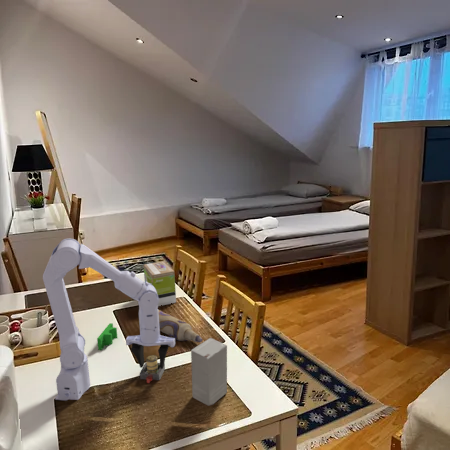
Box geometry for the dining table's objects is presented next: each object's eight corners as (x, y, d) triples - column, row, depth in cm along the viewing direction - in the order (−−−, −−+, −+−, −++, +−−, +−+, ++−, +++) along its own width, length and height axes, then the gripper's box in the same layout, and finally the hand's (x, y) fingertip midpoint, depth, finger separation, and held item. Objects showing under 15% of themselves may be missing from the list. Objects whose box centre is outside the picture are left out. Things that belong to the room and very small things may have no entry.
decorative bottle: (146, 329, 157) (144, 312, 156) (162, 322, 163) (161, 306, 161) (192, 353, 140) (192, 335, 138) (208, 344, 145) (208, 327, 144)
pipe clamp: (108, 351, 143) (107, 338, 141) (98, 350, 143) (97, 338, 142) (120, 334, 153) (119, 323, 152) (110, 334, 154) (109, 323, 153)
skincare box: (210, 385, 123) (209, 335, 119) (229, 394, 118) (228, 343, 114) (190, 399, 116) (188, 348, 112) (210, 410, 112) (208, 357, 108)
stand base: (164, 386, 122) (164, 378, 122) (131, 384, 123) (130, 376, 123) (172, 367, 132) (172, 359, 131) (142, 365, 133) (141, 358, 132)
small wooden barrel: (156, 377, 126) (155, 361, 124) (145, 376, 126) (144, 361, 125) (159, 370, 129) (158, 355, 128) (149, 370, 129) (148, 355, 128)
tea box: (144, 295, 189) (142, 263, 185) (166, 291, 193) (164, 260, 189) (154, 307, 175) (151, 274, 172) (176, 303, 179) (175, 270, 176)
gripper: (176, 319, 127) (178, 360, 130) (130, 318, 128) (133, 357, 132) (171, 331, 120) (173, 373, 123) (122, 329, 122) (125, 370, 125)
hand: (152, 366), depth 127 cm, fingers open, 6 cm apart
